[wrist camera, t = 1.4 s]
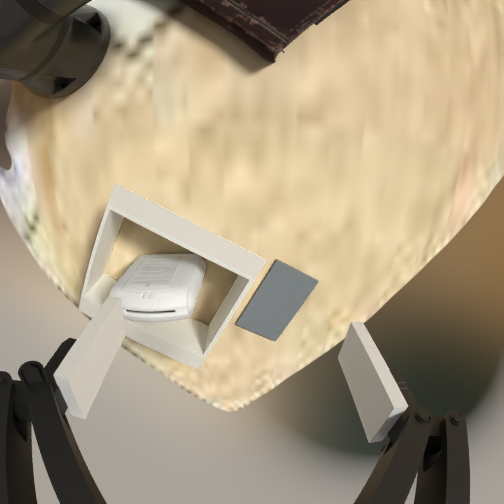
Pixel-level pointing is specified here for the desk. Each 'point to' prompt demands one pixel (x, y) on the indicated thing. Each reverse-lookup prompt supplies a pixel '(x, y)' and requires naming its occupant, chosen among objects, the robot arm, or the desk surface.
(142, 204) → the carton
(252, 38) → the diary
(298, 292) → the mat
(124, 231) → the desk surface
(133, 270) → the photo printer
